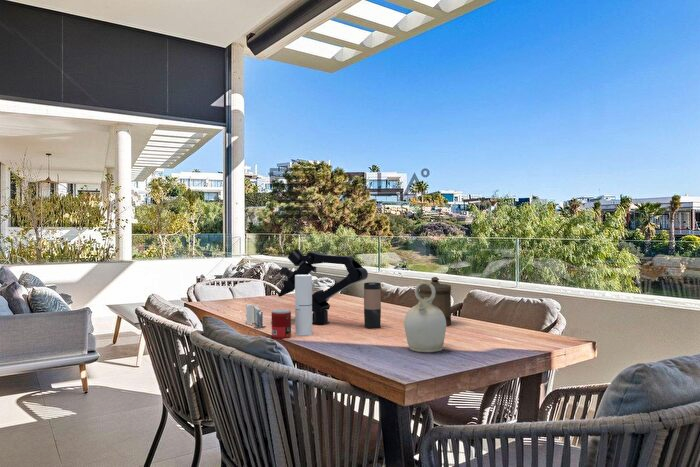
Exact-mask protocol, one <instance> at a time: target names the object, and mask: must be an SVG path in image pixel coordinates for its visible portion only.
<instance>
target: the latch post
mask: <svg viewBox="0 0 700 467" xmlns="http://www.w3.org/2000/svg"><path fill="white" fill-rule="evenodd" d="M253 306H254V304H251V303H250V304H246V306H245V307H246V308H245V311H246V315H245V317H246V324H247V325H252V324H251V323H253V324H254V309H253Z"/></svg>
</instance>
